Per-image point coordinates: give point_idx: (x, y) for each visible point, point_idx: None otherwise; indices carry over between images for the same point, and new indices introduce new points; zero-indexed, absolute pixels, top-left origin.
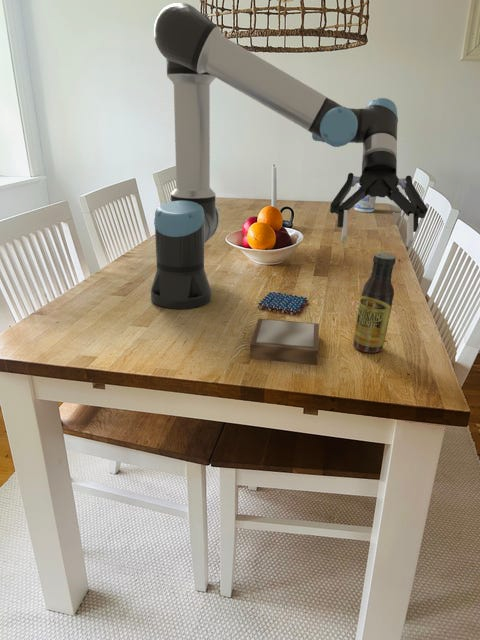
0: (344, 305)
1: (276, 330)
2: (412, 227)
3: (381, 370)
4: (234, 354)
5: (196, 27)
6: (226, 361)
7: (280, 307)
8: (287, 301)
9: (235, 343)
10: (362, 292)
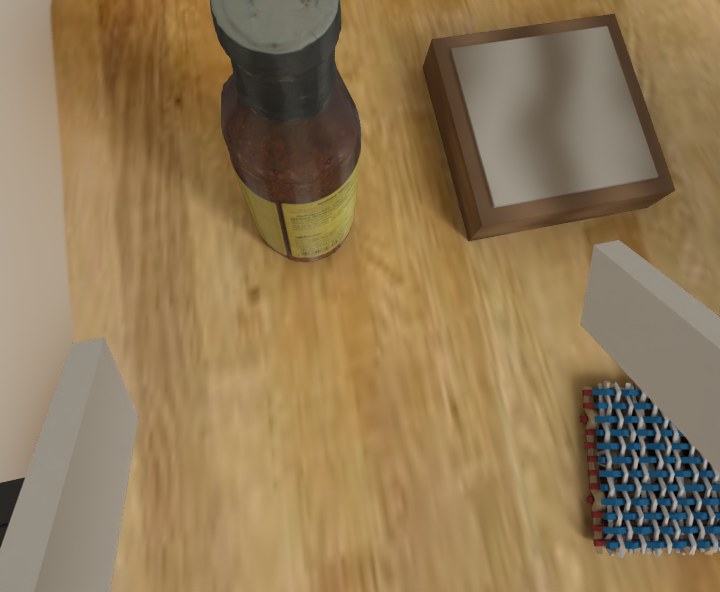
0: (447, 586)
1: (585, 112)
2: (49, 433)
3: None
4: (636, 48)
5: None
6: (636, 9)
7: None
8: (661, 460)
9: (664, 106)
10: (358, 120)
